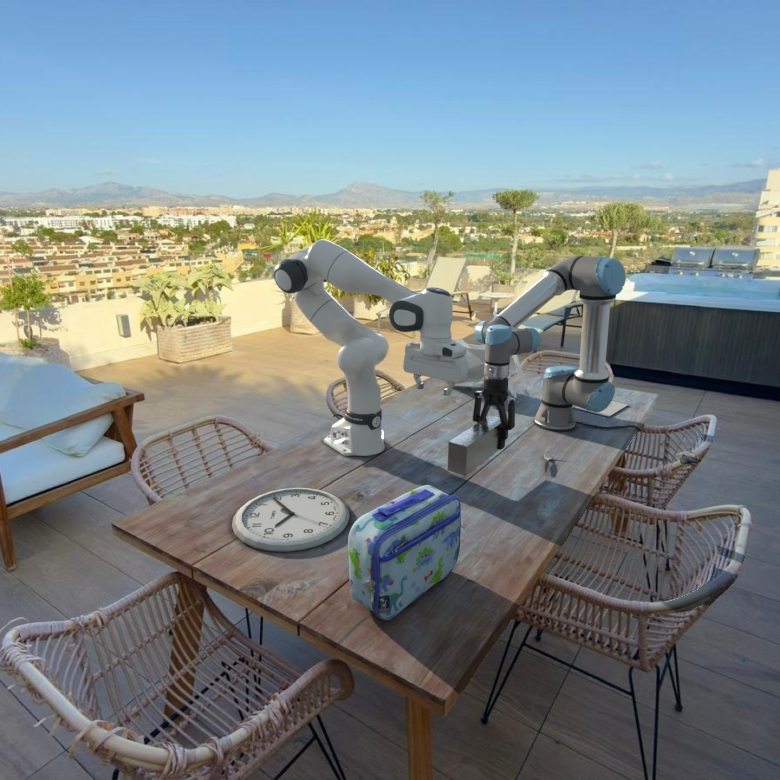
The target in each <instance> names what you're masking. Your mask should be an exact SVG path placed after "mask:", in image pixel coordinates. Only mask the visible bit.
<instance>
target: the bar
mask: <svg viewBox="0 0 780 780" xmlns="http://www.w3.org/2000/svg"><path fill="white" fill-rule="evenodd" d="M501 429H502V425H501V421H500V417H499V416H495V415H489V414H488V415H487V416H486V418H485V419H483V420H482V421H480V422H478V423H477V422H476V423H475V424H474V425H472V426H470V427H469V428H467V429H466V430H464V431H463V432H461V433H459V434H458V435H456V436H455V437H453V438H452V439H450V440H449V441H448V449H447V451H448V452H447V471H449V472H451V473H455V474H457V475H461V476H464V477H466V476H468V475H469V474H471V473H472V472H473V471H475V470H476V469H477V468H479V466H481V465H482V464H483V463H485V462H486V461H487V460H489V459H490V458H491V457H492V456H494V455H495V454H496V453H497V452H499V451H500V450H499V437H500V430H501Z"/></svg>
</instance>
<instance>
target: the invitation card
mask: <svg viewBox="0 0 780 780" xmlns="http://www.w3.org/2000/svg"><path fill="white" fill-rule="evenodd" d="M628 406H629V404H627V403H623V402H618V401H614V400H612V401H611V403H610V404H609V406H608V407H607V408H606V409H605V410H603V411H601V412H593V411H588V410H586V409H583V408H580V407H577V406H574V407H573V409H575V410H581V411H584V412H587V413H593V414H596V415H600V416H604V417H608V418H609V417H611V416H613V415H614V414H616V413H617V412H619V411H621V410H623V409H624V408H626V407H628Z"/></svg>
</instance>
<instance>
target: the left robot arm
mask: <svg viewBox="0 0 780 780" xmlns="http://www.w3.org/2000/svg"><path fill="white" fill-rule="evenodd" d="M273 278H274V281H275V283H276V285H277V287H278V288H279V289H280V290H281V291H283V292H284V293H286V294H289V295H291V294H293V295H294V296H293V300H294V302H295V304H296V306H297V307H298V309H299V310H300V312H301V313H302V314H303V315H304V317H305V318H306V320H307V321H309V323H311V325H312V326H314V327H315V328H316V330H317V331H319V333H320V334H321V335H322V336H323V337H324V338H325V339H327V340H328V341H330V342H333V343H335V344H337V345H339V346H341V348H340V349H339V351H338V352H337V355H336V363H337V366H338V368H339V369H340V371H341V372H342V373H343V376H344V379H345V383H346V384H345V385H346V389H347V390H346V391H347V394H346V395H347V407H345V408H342V409H341V410H342V411H341V413H344V415H342V414H341V413H334V414H333V415H332V417H333V418H335V417H340V419H339V420H337V421H336V422H335V423H333V424H332V425H331V428H330V434H329V435H326V437H324V439H323V443H324V444H326V446H329V447H330V448H331V449H333V450H335V451H336V452H338V454H341V456H344V457H351V456H358V457H359V456H360V457H368V456H374V455H377V454H380V453H382V452H383V451H384V450H385V449H386V447H385V438H384V430H383V426H382V420H383V411H382V407H381V398H382V397H381V396H382V395H381V393H382V390H381V389H382V388H381V386H380V384H379V382H378V379H377V374H376V368H377V366H378V365H379V364H381V363H382V362H383V361H385V359H386V357H387V356H388V354H389V351H390V345H389V341H388V340H387V338H386V337H385V335H383V334H381V333H379V332H376V331H374V330H372V329H371V328H369V327H368V326H367V325H366V324H364V323H362V322H361V321H359V320H358V319H356V318H355V317H354V316H353V315H352V314H351V313H349V312H348V310H347V309H346V308H344V307H343V305H342V304H340V302H338V300H336V298H334V297H333V296H332V295H331V294H330V293H329V292H328V291H327V290H326V288H325V283H327V282H328V283H329V284H330V285H331V286H333V287H334V288H336V289H338V290H341V291H343V292H345V293H347V294H364V295H365V294H366V295H373V296H377V297H380V298H382V299H383V300H385V301H386V302H389V303H390V304H391V306H390V308H389V311H388V319H389V322H390V324H391V326H392V327H393V328H394V329H395V330H396V331H397V332H401V333H411V332H419V333H420V338H419V342H415V341H409V342H407V343H406V345H405V348H404V358H403V365H402V368H403V371H404V372H405V373H409V374H413V379H414V381H415V383H416V389H417V390H424V387H425V386H424V385H425V382H422V379H421V377H426V378H431V379H436V380H440V381H442V380H445V381H447V384H448V385H447V387H446V388H444V389H443V395H444V396H447V397H450V396H451V395H452V389H453V388H454V386H455V385H456V384H455V383H459V384H463V383H462V382H464V381H465V380H466V379H467V377H468V362H467V358H466V357H465V356H464V354H466V352H467V348H466V347H465V346H463V345H461V344H459V343H457V342H455V341H454V339H453V338H452V337H453V336H452V330H451V326H452V323H453V316H454V315H453V310H454V309H453V297H452V295H451V293H450V292H449V291H448V290H446V289H444V288H440V287H432V286H430V287H428V286H427V287H425V288H424V289H423V290H421V291H420V292H416V291H413V290H411V289H410V288H407V287H405V286H404V285H402V284H401V283H399V282H397V281H395V280H394V279H392V278H391V277H389V276H387V275H386V274H384V273H381V272H380V271H378V270H377V269H375V268H373V267H372V266H371V265H369V264H368V263H366V262H365V261H364V260H362V259H361V258H359V257H358V256H357V255H356V254H353V253H352V252H351V251H349V250H347V249H346V248H344V247H343V246H341V245H338V244H337V243H335V242H333V241H330V240H328V239H323V238H322V239H318V240H315V241H314V242H313V243H312V244H311V245H310V246H308V247H304V248H302V249H299V250H297V251H296V252H294V253H293V254H292V255H290V256H288V257H286V258H283V259H282V260H280V261H279V262H278V263H277V264H276V266H275V267H274V269H273Z"/></svg>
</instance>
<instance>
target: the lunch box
mask: <svg viewBox="0 0 780 780" xmlns="http://www.w3.org/2000/svg"><path fill="white" fill-rule="evenodd" d="M461 520H462V506H461V500H460V498H459V497H458V496H457V495H454V494H450V495H449V494H448V493H445V492H444V491H442V490H440V489H438V488H436V487H435V486H432V485H430V484H425V485H420V486H418V487H416V488H415V489H412V490H410V491H408V492H406V493H404V494H402V495H400V496H398V497H396V498H394V499H392V500H390V501H388V502H386V503H384V504H382V505H380V506H378V507H377V508H375V509H372V510H371V511H368V512H367V513H365V514H362V515H361V516H359V517H357V519H356V520H355V521H354V523H353V524H352V526H351V528H350V530H349V533H348V536H347V537H348V538H347V557H348V559H347V560H348V586H349V592H350V597H351V599H352V600H353V601H355V602H356V603H358V604H360V605H362V606H364V607H365V608H366V609H368V610H369V611H371V612H372V613H374V615H375V616H376V617H377V618H379V619H380V620H383V621H390V620H393V619H394V618H395V617H397V616H398V615H399V614H400V613H401V612H402V611H403V610H405V609H406V608H407V607H408V606H409V605H411V604H412V603H414V602H415V601H416V600H417V599H419V598H420V597H421V596H422V595H424V594H425V593H426V592H427V591H429V589H431V588H432V587H433V586H435V585H436V584H438V583H439V582H440V581H442V580H444V579H445V578H446V577H448V575H450V573H451V572H452V571H453V570H454V568H455V566H456V564H457V562H458V559H459V555H460V552H461V551H460V549H461V535H462V534H461V533H462V521H461Z"/></svg>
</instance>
